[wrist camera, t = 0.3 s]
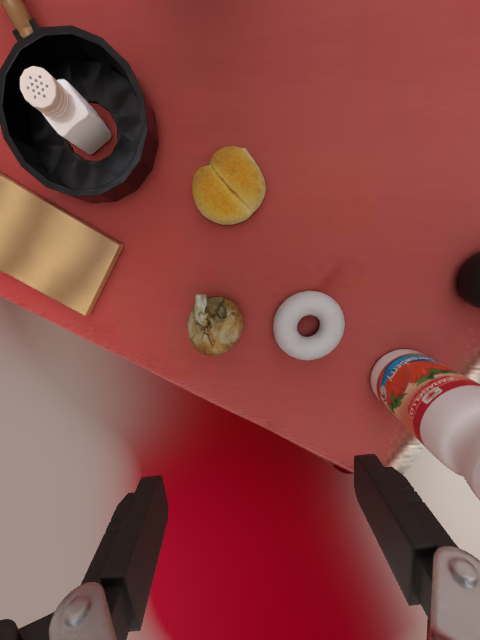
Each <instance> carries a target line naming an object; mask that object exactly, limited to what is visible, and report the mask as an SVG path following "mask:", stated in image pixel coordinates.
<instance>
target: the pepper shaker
mask: <svg viewBox="0 0 480 640" xmlns="http://www.w3.org/2000/svg"><path fill="white" fill-rule="evenodd" d="M20 90H21V92H22V94H23V96H24V98H25V100H26V101H27V102H29V103H30V104H31V105H32V106H33V107H35V108H36V109H38V110H39V111H40V112H42V114H43V115H44V117H45V118H46V119H47V121H48V122H49V123H50V124H51V126H52V127H53V128H54V129H55V131H56V132H57V133H58V134H59V135H61V136H62V137H64V138H65V139H67V140H68V141H70V142H71V143H73V144H74V145H76V146H77V147H79V148H80V149H81V150H83V151H84V152H86V153H88V154H89V155H91V154H93V153H95V152H96V151H97V150H98V149H99V148H101V147H102V146H103V145H104V144H105V143H106V142H108V141H109V140H110V139H111V137H112V135H111V132H110V130H109V129H108V127H107V126H106V124H105V123H104V122H103V120H102V119H101V117H100V116H99V115H98V113H97V112H96V110H95V109H94V108H93V107H92V106H91V105H90V104H89V103H88V102H87V101H86V100H85V99H84V98H83V97H82V96H81V95H80V94H79V93H78V92H77V91H76V90H75V89H74V88H73V87H72V86H71V85H70V84H69V83H68V82H67V81H66V80H64V79H58V80H56V79H55V78H54V77H53V76H52V75H50V74H49V73H48V72H47V71H46V70H45V69H44V68H41V67H36V66H31V67H29V68H27V69H25V70H24V71H23V73H22V75H21V77H20Z"/></svg>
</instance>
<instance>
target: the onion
mask: <svg viewBox="0 0 480 640" xmlns="http://www.w3.org/2000/svg"><path fill="white" fill-rule="evenodd" d="M187 328H188V335H189V339H190V342H191V343H192V345H193V346H194V348H195V349H196V350H197V351H199V352H200V353H202V354H205V355H208V356H218V355H221V354H224V353H225V352H227V351H228V350H230V349H231V348H232V347H233V346H235V345H236V343H237V342H238V340H239V338H240V335H241V333H242V329H243V318H242V314H241V312H240V310H239V308H238V307H237V305H236V304H235V303H234V302H233V301H231V300H229V299H227V298H225V297H210V298H206V295H205V294H197V295H196V298H195V305H194V307H193V309H192V311H191V313H190V316H189V318H188V325H187Z"/></svg>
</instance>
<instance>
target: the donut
mask: <svg viewBox="0 0 480 640" xmlns="http://www.w3.org/2000/svg"><path fill="white" fill-rule="evenodd" d="M307 315H314V316H316V317H317V318H318V319H319V322H320V326H319V329H318V331H317V332H316V333H315V334H314V335H312V336H309V337H304V336H301V335H300V334H299V333H298V331H297V324H298V322H299V320H300V319H301V318H302V317H304V316H307ZM344 327H345V322H344V314H343V312H342V310H341V308H340V306H339V305H338V303H337V302H335V301H334V300H333V299H332V298H331V297H330V296H328V295H326V294H324V293H322V292H317V291H304V292H300V293H296V294H294V295H293V296H291V297H289V298H287V299H286V300H285V301H284V302H283V303H282V304H281V306H280V307H279V308H278V310H277V312H276V315H275V317H274V324H273V331H274V336H275V340H276V341H277V343H278V345H279V347H280V348H281V349H282V350H283V351H285V352H286V353H287V354H288V355H289V356H292V357H294V358H297V359H300V360H313V359H318V358H321V357H323V356H325V355H327V354H329V353H330V352H331V351H332V350H333V349H334V348H335V347H336V346H337V345H338V343H339V342H340V340H341V338H342V336H343V332H344Z"/></svg>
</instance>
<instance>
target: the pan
mask: <svg viewBox="0 0 480 640" xmlns="http://www.w3.org/2000/svg"><path fill="white" fill-rule="evenodd" d="M0 2H1V4H2V5H3V7H4V9H5V11H6V13H7V14H8V16H9V18H10V20H11V21H12V23H13V25H14V27H15V30H14V31H12V32H13V34H14V36H15V37H16V39H17V41H18V42H17V43H15V45H14V46H13V48H12V50H11V52H10V53H9V55H8V57H7V59H6V60H5V62H4V64H3V65H2V67H1V69H0V125H1V129H2V133H3V137H4V139H5V141H6V142H7V144H8V146H9V147H10V149H11V150H12V152H13V154H14V155H15V157H16V158H17V160H18V162H19V163H20V165H21V166H22V167H23V168H24V169H25V170H27V171H28V172H29V173H30V174H31V175H33V176H34V177H35V178H36V179H37V180H39V181H40V182H41V183H42V184H43V185H45V186H46V187H48V188H51V189H54V190H57V191H59V192H62V193H65V194H68V195H71V196H73V197H76V198H79V199H82V200H85V201H88V202H91V203H98V202H114V201H118V200H120V199H121V198H123V197H125V196H127V195H129V194H131V193H132V192H134V191H136V190H137V189H138V188H139V187H140V185H141V184H142V183H143V181H144V180H145V179H146V177H147V176H148V174H149V173H150V172H151V170H152V167H153V163H154V159H155V155H156V151H157V147H158V137H157V128H156V120H155V113H154V111H153V109H152V107H151V105H150V103H149V101H148V99H147V97H146V95H145V93H144V91H143V89H142V87H141V85H140V83H139V81H138V80H137V78H136V76H135V74H134V73H133V71H132V69H131V67H130V66H129V64H128V63H127V62H126V61H125V60H124V59H123V58H122V57H121V56H120V55H119V54H118V53H117V52H116V51H115V50H114V49H113V48H112V47H111V46H110V45H109V44H108V43H107V42H106V41H105V40H104V39H103V38H101V37H98V36H96V35H94V34H91V33H89V32H86V31H84V30H82V29H79V28H77V27H74V26H56V27H40V25H39V24H38V23H37V22H36V21H35V20H34V18H32V17H31V15H30V13H29V11H28V10H27V8H26V6H25V4H24V2H23V0H0ZM31 66H36V67H41V68H44V69H45V70H46V71H47V72H48V73H49V74H50V75H52V76H53V77H54V78H55V79H56V80H58V79H64V80H66V81H67V82H68V83H69V84H70V85H71V86H72V87H73V88H74V89H75V90H76V91H77V92H78V93H79V94H80V95H81V96H82V97H83V98H84V99H85V100H86V101H87V102H89V103H98V104H100V105H101V106H102V107H104V108H105V109H106V110H108V111H109V112H110V113H111V115H112V117H113V119H114V121H115V123H116V125H117V136H118V142H117V144H116V146H115V148H114V150H113V152H112V154H111V155H110V156H108V157H106V158H105V159H103V160H101V161H87V160H84V159H83V158H81V157H80V156H78V155H77V154H75V153H74V151H73V149H72V148H71V146H70V144H69V142H68V141H67V139H65V138H64V137H62V136H61V135H59V134H58V133H57V132H56V131H55V129H54V128H53V127H52V126H51V124H50V123H49V122H48V121H47V119H46V118H45V117H44V115H43V114H42V112H40V111H39V110H38V109H36V108H35V107H33V106H32V105H31V104H30V103H29V102H27V101H26V100H25V98H24V96H23V94H22V92H21V90H20V77H21V75H22V73H23V71H24V70H25V69H27V68H29V67H31ZM116 71H117V72H116Z"/></svg>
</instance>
